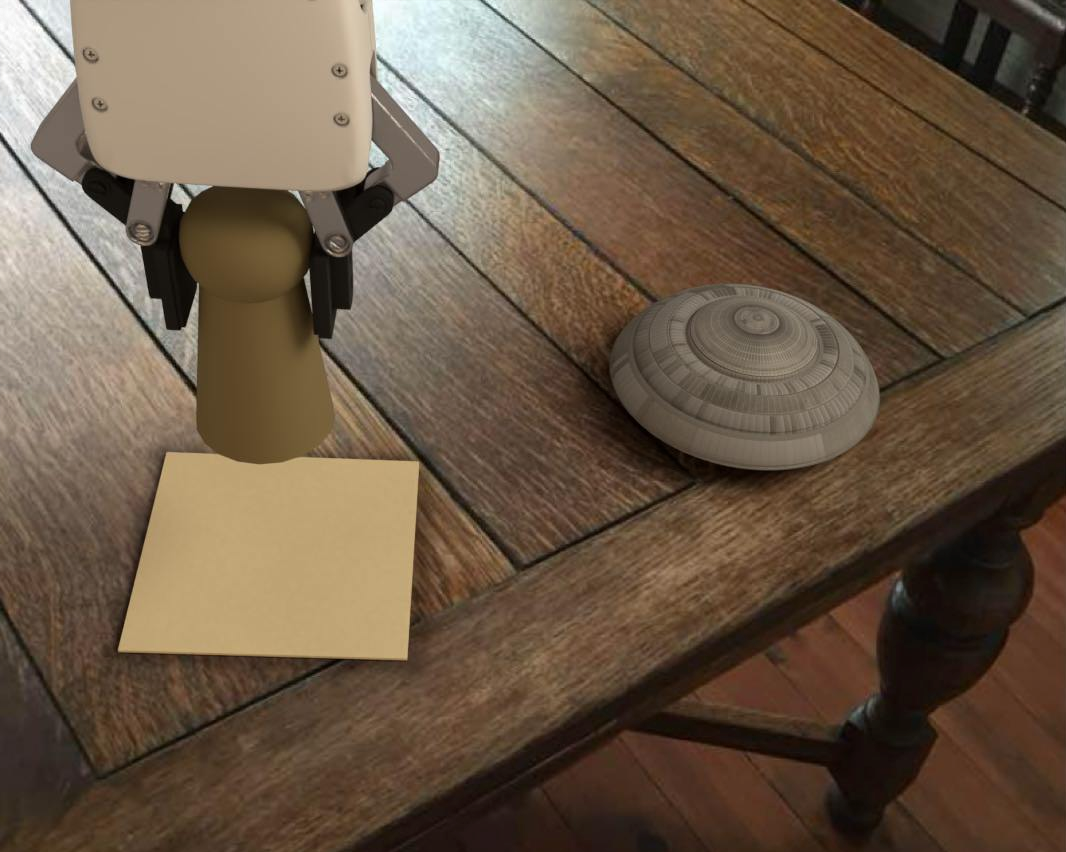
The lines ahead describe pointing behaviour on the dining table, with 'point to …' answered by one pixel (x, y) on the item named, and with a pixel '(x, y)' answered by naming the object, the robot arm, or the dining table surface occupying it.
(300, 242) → the brown peg doll
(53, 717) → the dining table surface
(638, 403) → the flying saucer
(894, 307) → the dining table surface
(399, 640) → the felt square
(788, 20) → the dining table surface
